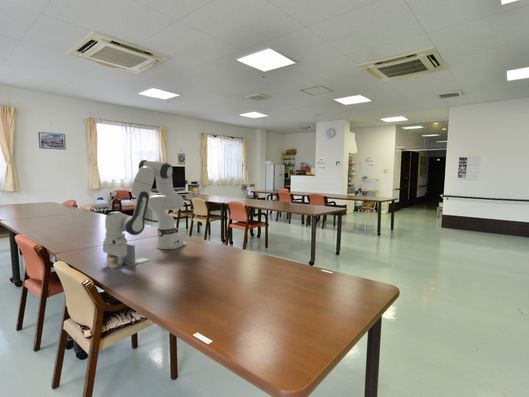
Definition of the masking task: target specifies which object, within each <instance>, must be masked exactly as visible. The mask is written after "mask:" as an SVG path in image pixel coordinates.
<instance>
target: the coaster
mask: <svg viewBox="0 0 529 397" xmlns="http://www.w3.org/2000/svg"><path fill="white" fill-rule="evenodd" d="M135 262H138V264H142V263H146V262H150V259H149V258H145V257H141V258H137V259H135Z"/></svg>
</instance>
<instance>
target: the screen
mask: <svg viewBox="0 0 529 397" xmlns="http://www.w3.org/2000/svg"><path fill="white" fill-rule="evenodd" d="M126 245H127V255H126V256H125V257H122V265H123V264H124V265H127V266H129V267H132V266H136V265H138V264H139V263H138V262H135V260H136V249H135V248H136V245H134V244H131V243H128V242H127V243H126Z"/></svg>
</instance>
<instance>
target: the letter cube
mask: <svg viewBox="0 0 529 397" xmlns="http://www.w3.org/2000/svg"><path fill="white" fill-rule="evenodd" d="M117 260H118V257H117V256H114V255H111V256H107V255H106V267H108V268H111V269H114V268H119V267H122V266H123V263H122V260H121V263H120V264H118V263H117Z"/></svg>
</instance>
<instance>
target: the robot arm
mask: <svg viewBox="0 0 529 397" xmlns="http://www.w3.org/2000/svg"><path fill="white" fill-rule="evenodd" d="M173 171H174V170H173V166H172V165H171V164H170V163H168V162H163V161H160V160H157V159H150V158H143V159H142V160H140V161H139V164H138V170H137V173H136V175H135V177H134V179H133V182H132V185H131V193H132V195H133V196H134V197H135V202H136V203H135V207H134V211H133V215H129V214H125V213H123V212H121V211H119V210H117V211H116V210H115V211H110V212H108V213H107V214H106V216H105V221H104V223H105V224H104V227H105V237H104V240H103V243H102V251H103V253H105V254H106V257H107V256H111V255H114V256H117V257H118V260H117V263H118V264H120V263H121V260H122V257H125V256H126V255H127V245H126V243H128V239H127V238H126V237H125V238H124V237H123V236H122V233H125V232H126V233H128V234H129V235H131V236H138V235H140V234H141V233H142V232H144V229H145V218H146V214H147V213H146V212H147V208H149V209H150V210H152V212H154V214H155V216H156V218H157V224H158V226H157V227H158V228H157V235H158V236H157V243H156V249H160V250H168V249H171V250H172V249H173V250H175V249H178V248H181V247H184V246H186V245H187V242H185V241H184V237H183V236H182V235H181V234H180V233H178V232H177V231H179V228H178V227H175V218H174V217H173V216H172V215H171V214H170V213H169V214H168V213H167V212H166V211H171V210H172V211H175V210H181V209H182V208H183V207H184V204H185V200H184V198H183V197H182V196H181V195H180V194H178V193H177V191H175V189H174V184H173V176H172V175H173ZM154 181H155V183H156V184H155V185H156V190H157V191H158V193H159V194H156V195H155V194H154V195H150V194H151V191H152V188H153V185H154ZM183 245H184V246H183Z"/></svg>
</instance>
